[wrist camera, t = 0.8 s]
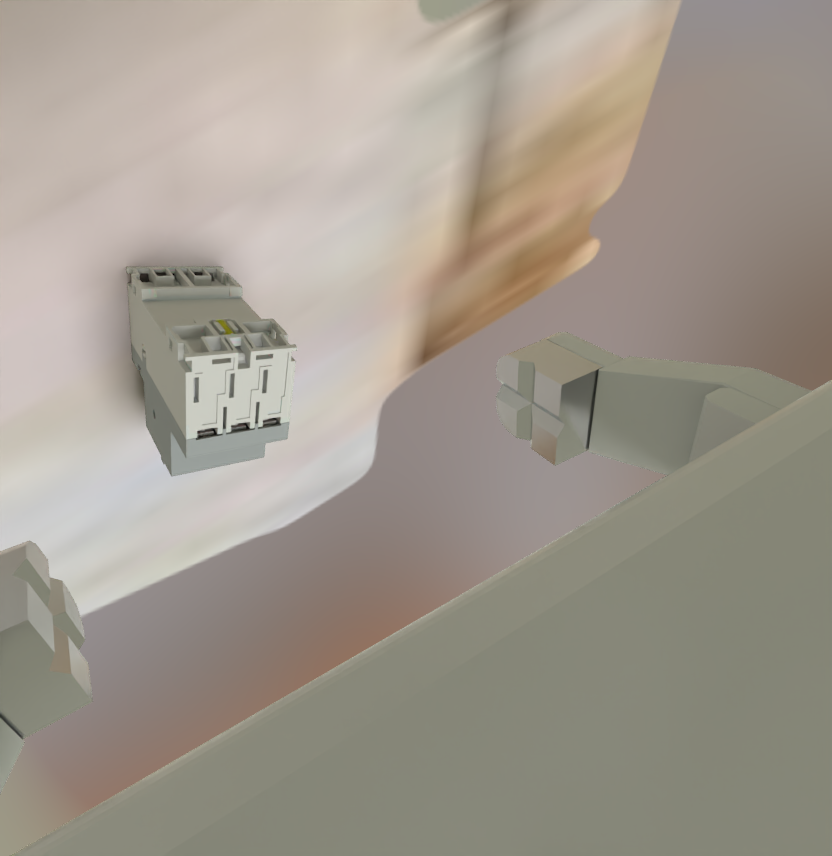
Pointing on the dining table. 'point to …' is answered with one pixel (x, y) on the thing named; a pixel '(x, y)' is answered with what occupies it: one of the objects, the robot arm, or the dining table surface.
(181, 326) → the circuit breaker
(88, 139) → the dining table surface
